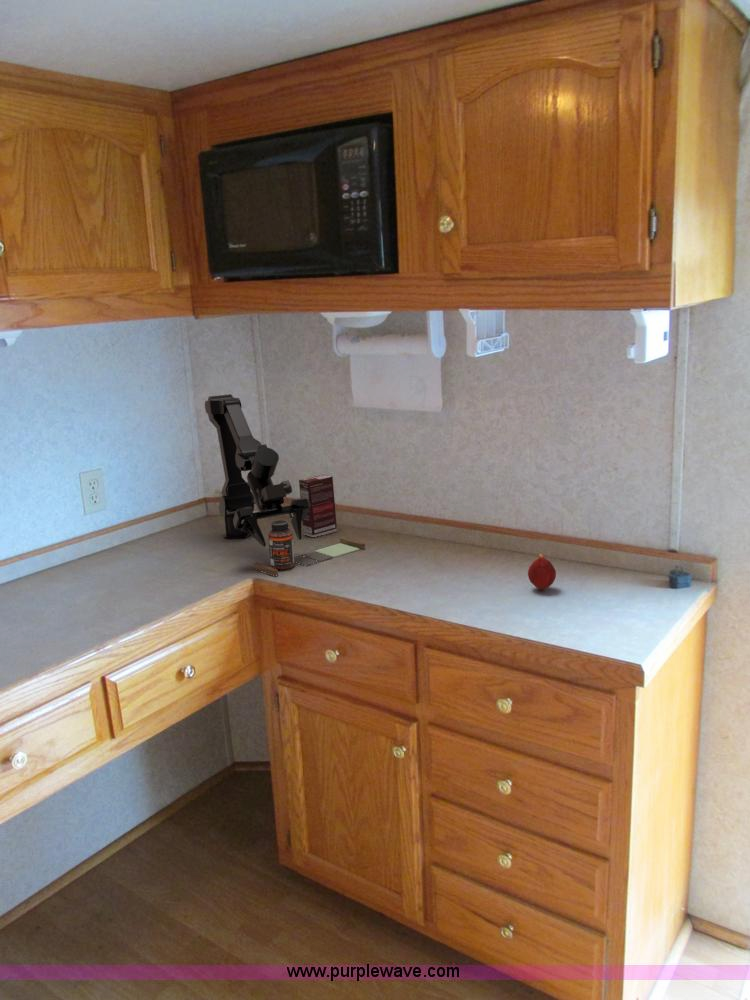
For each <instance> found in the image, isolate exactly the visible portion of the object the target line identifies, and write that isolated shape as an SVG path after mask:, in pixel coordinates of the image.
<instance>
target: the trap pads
mask: <svg viewBox="0 0 750 1000" xmlns="http://www.w3.org/2000/svg"><path fill="white" fill-rule="evenodd" d="M303 556H305V557H303ZM328 559H329V560H332V559H333V558H332V557H329V556H326V555H323V554H320V553H317V552H314V551H309V552H306V553H303V554H299V555H294V561H295V562H297V563H296V564H298V563H300V564H299V565H301V564H303V565H302V566H304V565H306V566H305V567H309V566H312V565H311V564H313V563H316V564H318V563H317V562H319V563H322V562H325V561H324V560H326V561H328ZM316 560H317V561H316ZM321 561H322V562H321ZM295 562H294V563H295ZM308 565H309V566H308ZM313 565H314V564H313Z"/></svg>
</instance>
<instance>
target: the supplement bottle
mask: <svg viewBox="0 0 750 1000" xmlns="http://www.w3.org/2000/svg"><path fill="white" fill-rule="evenodd" d="M293 534H294V533H293V531H292V530H291V529H290V528H289V522H288V520H275V521H272V522H271V530H270V531H269V532H268V533H267V537H268V548H269V549H268V550H269V562H270V567H271V568H274V569H286V570H289V569H288V568H290V569H292V568H294V566H295V564H296V563H295V561H294V557H295V551H294V550H295V548H294V535H293Z"/></svg>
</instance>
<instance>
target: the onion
mask: <svg viewBox="0 0 750 1000" xmlns="http://www.w3.org/2000/svg"><path fill="white" fill-rule="evenodd" d="M527 577H528V580H529V582H530V583H531V584H532V585H533V586H534V587H535V588H536V589H538V590H540V591H545V590H546V589H547V588H549V587H551V586H552V585H553V583H554V582H555V579H556V577H557V570H556V569H555V567H554V565H553V563H552V562H551V561H550V560H548V558H546V557H545V556H544V555H543V554H542V553H539V556H538V558H537V559H535V560H534V561H533V562H532V563H531V564H530V565H529V568H528V570H527Z"/></svg>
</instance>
